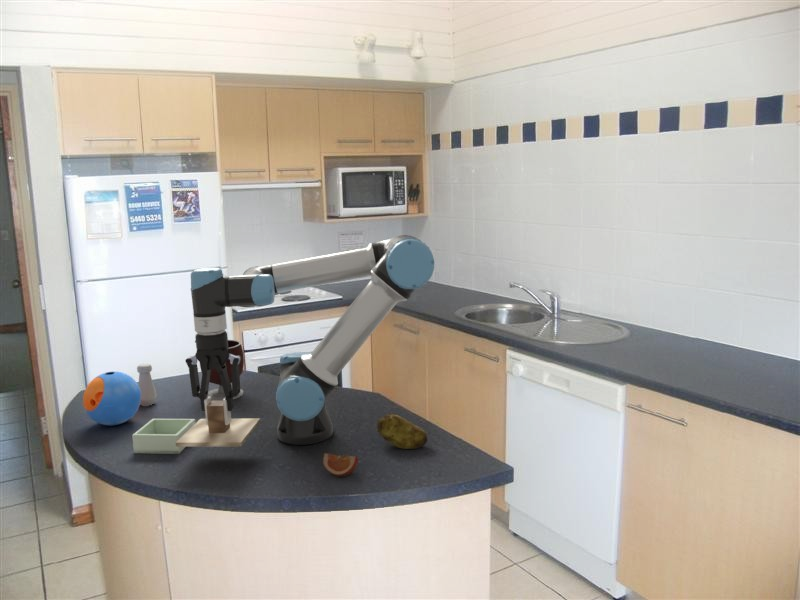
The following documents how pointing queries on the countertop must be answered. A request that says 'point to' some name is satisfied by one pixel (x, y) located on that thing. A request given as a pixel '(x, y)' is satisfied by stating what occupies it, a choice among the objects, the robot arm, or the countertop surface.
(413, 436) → the potato
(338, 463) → the fruit slice
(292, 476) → the countertop surface
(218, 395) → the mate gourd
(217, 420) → the lid
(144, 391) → the salt shaker
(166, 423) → the dish
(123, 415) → the treat dispenser ball
